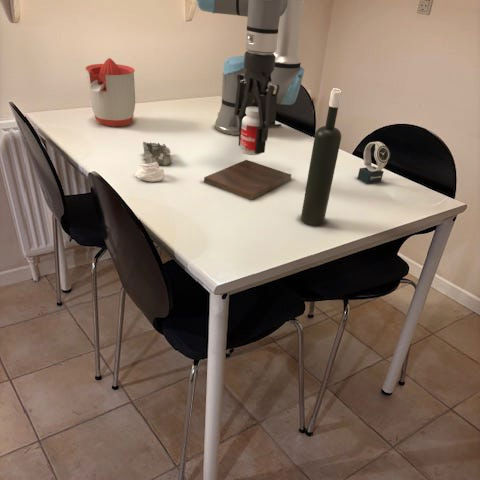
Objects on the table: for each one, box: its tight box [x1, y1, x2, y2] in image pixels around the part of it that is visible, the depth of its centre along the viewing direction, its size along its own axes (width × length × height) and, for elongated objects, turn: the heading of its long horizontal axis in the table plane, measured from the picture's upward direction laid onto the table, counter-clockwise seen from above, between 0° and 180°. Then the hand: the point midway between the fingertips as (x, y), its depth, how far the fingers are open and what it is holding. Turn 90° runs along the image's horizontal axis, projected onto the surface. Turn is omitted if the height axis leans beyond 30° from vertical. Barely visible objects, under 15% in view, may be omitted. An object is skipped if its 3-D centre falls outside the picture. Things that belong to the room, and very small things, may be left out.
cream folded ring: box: [134, 162, 165, 183], centre depth 129 cm, size 8×7×5 cm
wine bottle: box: [300, 87, 343, 227], centre depth 108 cm, size 6×6×30 cm
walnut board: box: [203, 159, 292, 201], centre depth 134 cm, size 20×16×2 cm
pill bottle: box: [239, 106, 265, 156], centre depth 126 cm, size 6×6×11 cm
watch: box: [356, 141, 391, 185], centre depth 139 cm, size 6×8×11 cm
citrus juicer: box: [85, 57, 136, 128], centre depth 160 cm, size 16×17×20 cm
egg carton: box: [142, 141, 172, 166], centre depth 141 cm, size 11×8×4 cm
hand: (251, 148), depth 129 cm, fingers closed on pill bottle, 6 cm apart
